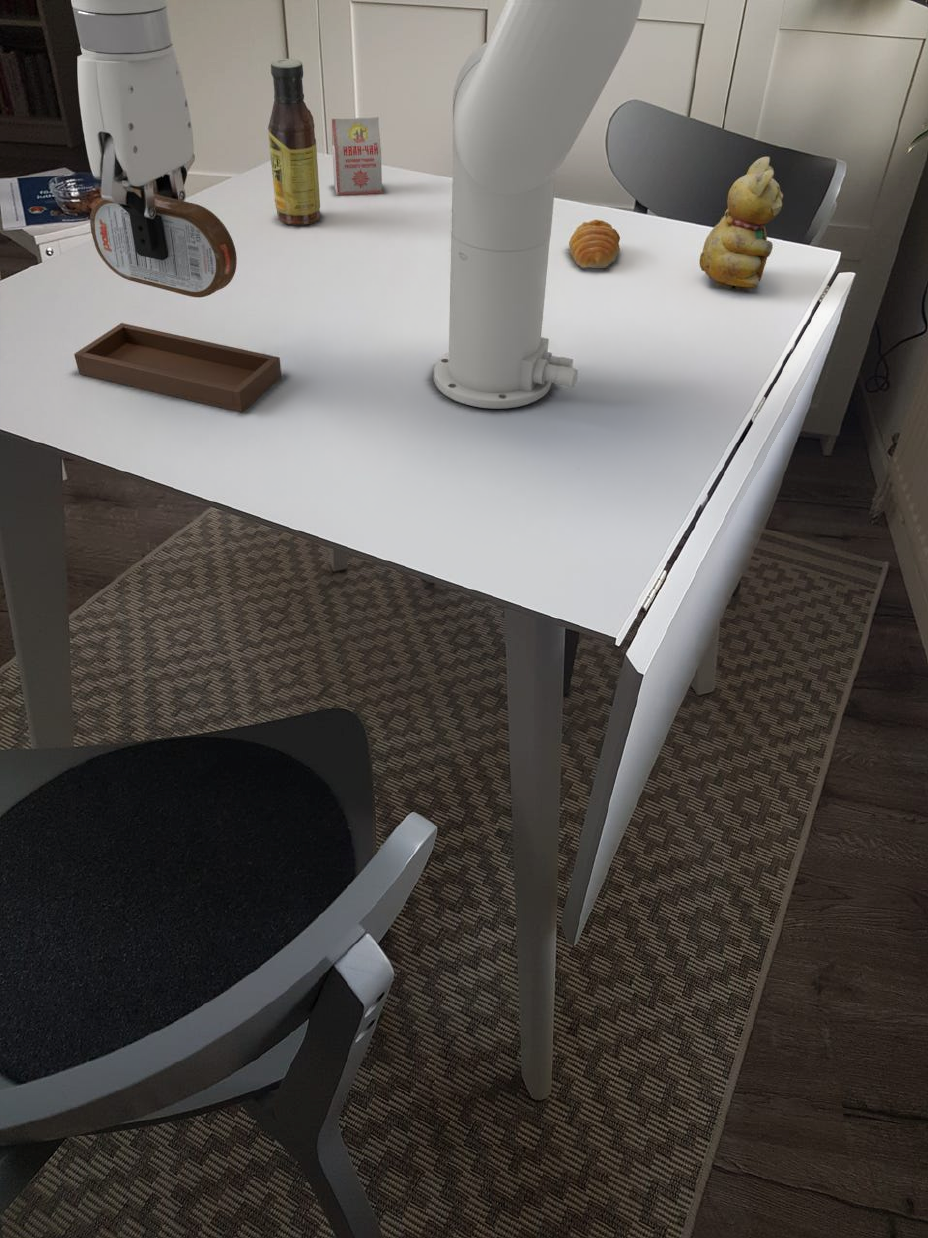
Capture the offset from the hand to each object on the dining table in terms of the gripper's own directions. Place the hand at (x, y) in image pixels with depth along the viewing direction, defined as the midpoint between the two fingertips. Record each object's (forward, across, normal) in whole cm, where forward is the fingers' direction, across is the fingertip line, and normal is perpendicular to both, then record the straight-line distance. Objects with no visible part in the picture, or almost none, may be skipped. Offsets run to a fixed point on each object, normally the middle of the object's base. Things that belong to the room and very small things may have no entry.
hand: (163, 248), depth 92 cm
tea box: (+13, -60, -9) cm, 62 cm away
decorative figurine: (+13, -49, +49) cm, 71 cm away
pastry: (+13, -50, +31) cm, 60 cm away
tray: (+13, +1, 0) cm, 13 cm away
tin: (+4, 0, 0) cm, 4 cm away
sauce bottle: (+13, -45, -11) cm, 48 cm away
